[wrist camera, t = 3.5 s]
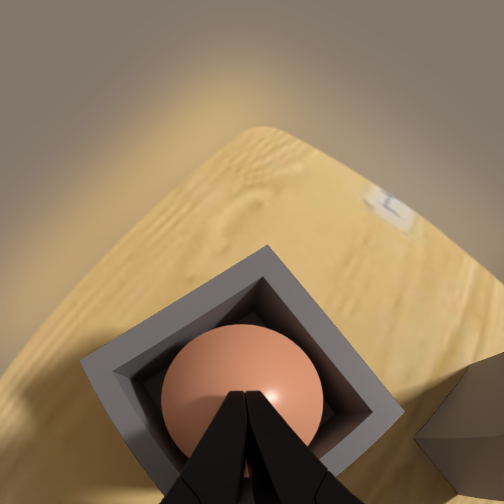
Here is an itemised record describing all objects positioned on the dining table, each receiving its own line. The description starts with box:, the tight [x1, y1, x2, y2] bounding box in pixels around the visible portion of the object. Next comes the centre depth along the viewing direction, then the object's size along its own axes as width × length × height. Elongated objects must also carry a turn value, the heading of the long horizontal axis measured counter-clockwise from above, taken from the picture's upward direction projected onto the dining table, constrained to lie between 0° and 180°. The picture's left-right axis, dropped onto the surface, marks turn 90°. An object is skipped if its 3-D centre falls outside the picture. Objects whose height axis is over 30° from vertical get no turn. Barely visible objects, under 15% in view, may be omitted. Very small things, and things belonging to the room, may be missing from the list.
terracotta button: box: [161, 324, 323, 477], centre depth 9 cm, size 5×5×2 cm
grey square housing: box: [79, 245, 405, 504], centre depth 12 cm, size 7×7×9 cm
